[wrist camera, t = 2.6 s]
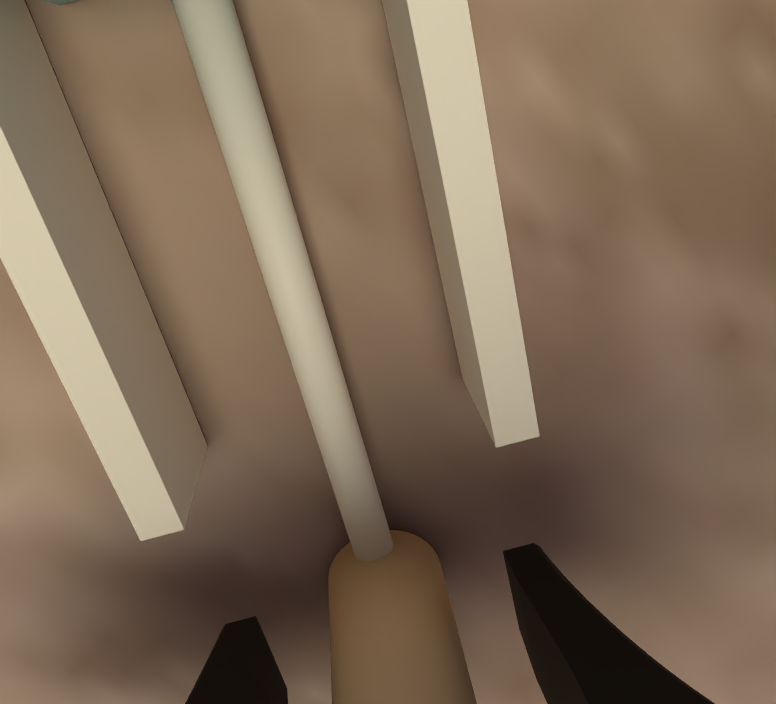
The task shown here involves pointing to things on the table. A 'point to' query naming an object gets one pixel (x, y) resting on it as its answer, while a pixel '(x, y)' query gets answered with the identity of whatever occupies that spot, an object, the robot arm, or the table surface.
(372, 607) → the toy mallet
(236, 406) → the table surface
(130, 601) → the table surface
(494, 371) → the lane rack
